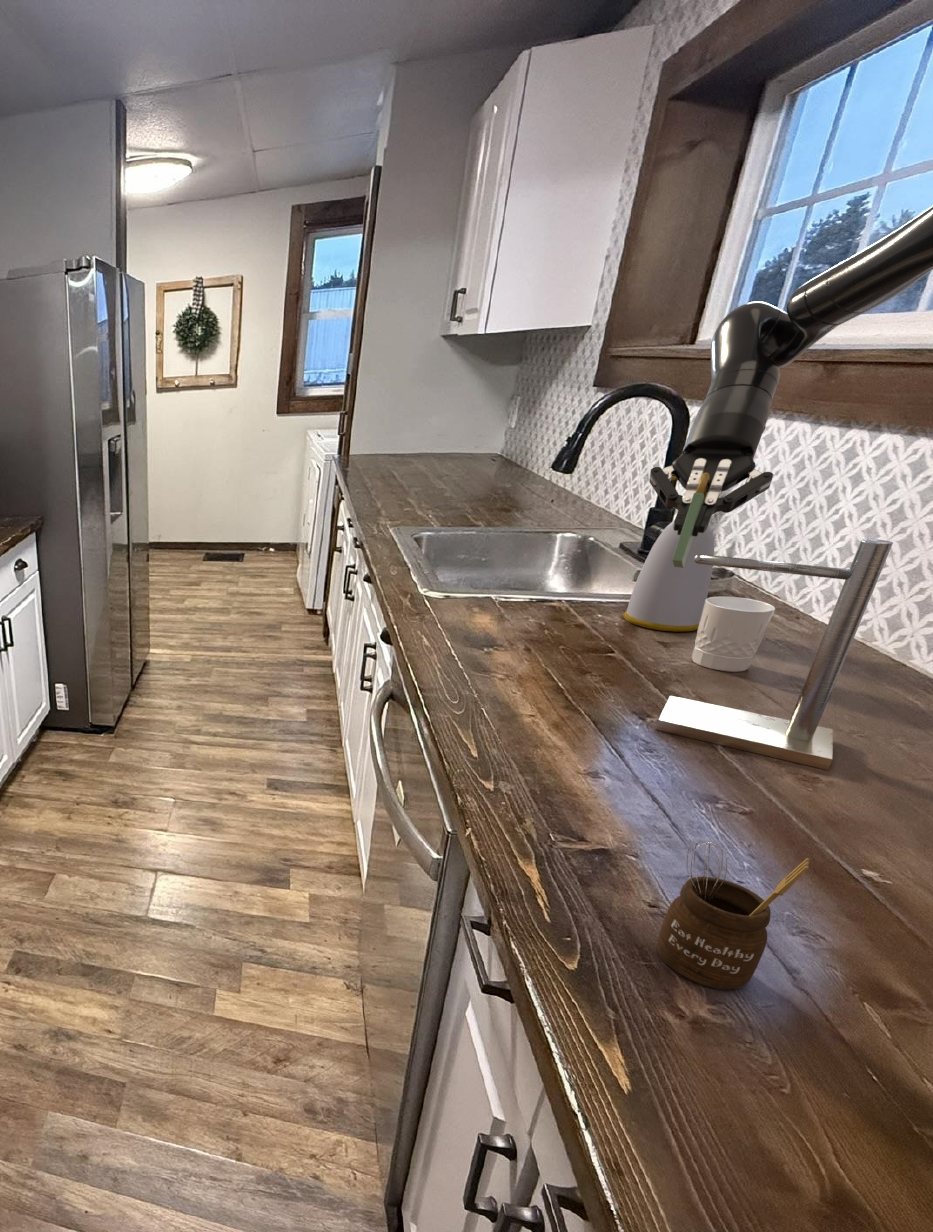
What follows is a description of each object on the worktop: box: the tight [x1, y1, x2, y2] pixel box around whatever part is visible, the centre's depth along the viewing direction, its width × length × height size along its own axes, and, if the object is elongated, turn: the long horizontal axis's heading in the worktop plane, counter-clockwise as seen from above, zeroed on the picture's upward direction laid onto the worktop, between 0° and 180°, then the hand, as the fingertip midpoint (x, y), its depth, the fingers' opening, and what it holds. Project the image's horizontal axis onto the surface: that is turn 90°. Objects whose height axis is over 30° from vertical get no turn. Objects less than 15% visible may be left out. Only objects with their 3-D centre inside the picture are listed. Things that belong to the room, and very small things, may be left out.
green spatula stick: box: [672, 473, 710, 568], centre depth 97 cm, size 1×6×12 cm, turn 134°
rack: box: [654, 538, 894, 771], centre depth 88 cm, size 18×10×26 cm, turn 44°
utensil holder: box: [656, 840, 811, 991], centre depth 56 cm, size 6×6×12 cm
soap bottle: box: [622, 475, 715, 633], centre depth 126 cm, size 11×12×26 cm
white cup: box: [691, 595, 776, 673], centre depth 111 cm, size 8×8×10 cm
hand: (688, 532), depth 96 cm, fingers closed on green spatula stick, 1 cm apart
